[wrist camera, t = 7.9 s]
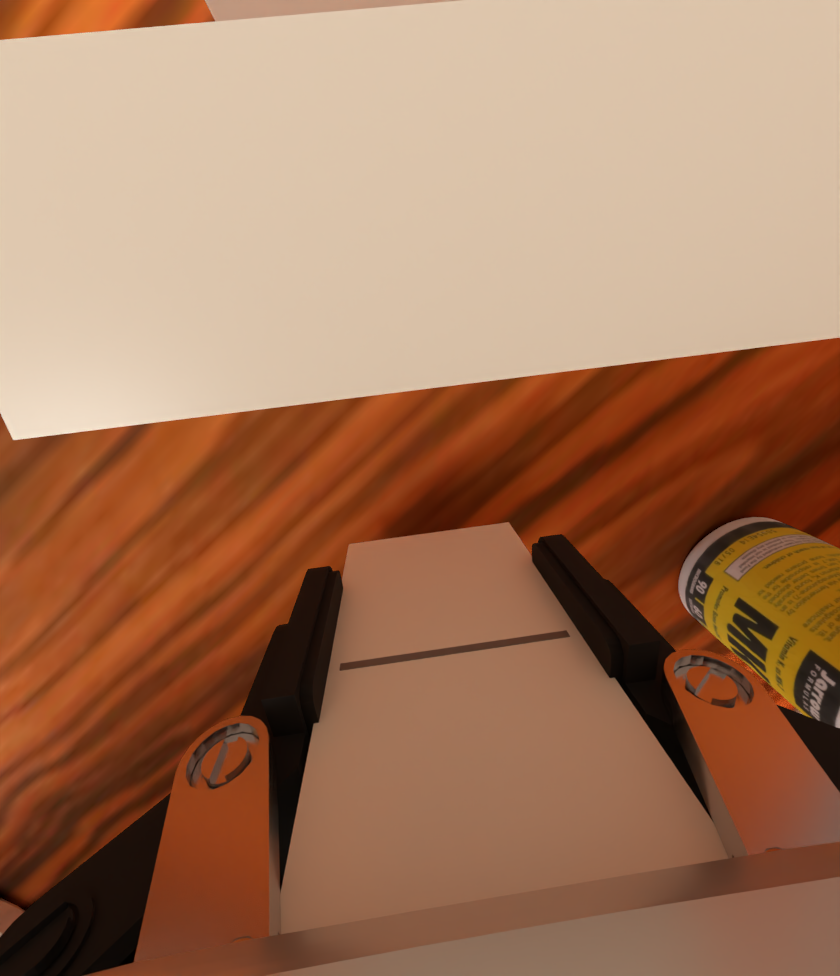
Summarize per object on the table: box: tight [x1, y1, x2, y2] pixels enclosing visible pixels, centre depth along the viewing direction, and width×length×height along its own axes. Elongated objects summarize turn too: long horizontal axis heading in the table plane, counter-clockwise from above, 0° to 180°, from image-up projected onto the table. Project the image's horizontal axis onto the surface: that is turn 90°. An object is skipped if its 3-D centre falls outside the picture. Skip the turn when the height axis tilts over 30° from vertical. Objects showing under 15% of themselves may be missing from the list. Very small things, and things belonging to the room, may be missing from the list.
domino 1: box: [0, 0, 840, 440], centre depth 7 cm, size 2×5×10 cm, turn 96°
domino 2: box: [280, 522, 729, 934], centre depth 8 cm, size 2×5×10 cm, turn 96°
